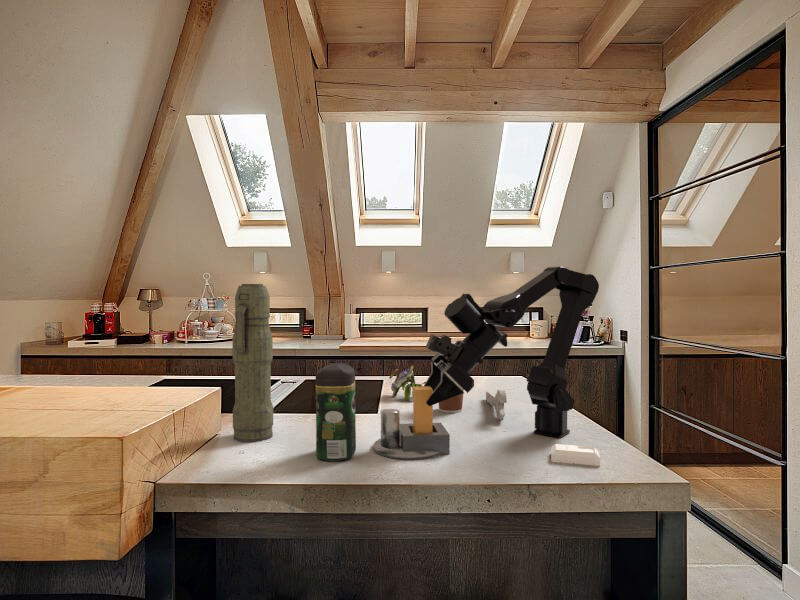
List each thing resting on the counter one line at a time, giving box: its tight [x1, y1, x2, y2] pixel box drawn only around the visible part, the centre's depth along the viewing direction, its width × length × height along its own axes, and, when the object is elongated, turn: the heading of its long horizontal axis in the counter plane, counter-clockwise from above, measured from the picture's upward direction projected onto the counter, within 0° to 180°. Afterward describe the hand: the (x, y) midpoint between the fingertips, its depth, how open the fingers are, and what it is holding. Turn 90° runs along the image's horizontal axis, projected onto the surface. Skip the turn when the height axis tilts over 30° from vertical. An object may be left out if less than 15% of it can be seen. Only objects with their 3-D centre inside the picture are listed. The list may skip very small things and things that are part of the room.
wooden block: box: [412, 385, 434, 433], centre depth 109 cm, size 4×4×12 cm
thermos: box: [232, 283, 274, 443], centre depth 117 cm, size 9×12×35 cm
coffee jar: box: [314, 362, 357, 462], centre depth 104 cm, size 10×8×19 cm
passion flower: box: [388, 365, 426, 402], centre depth 160 cm, size 11×11×12 cm
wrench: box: [485, 389, 508, 420], centre depth 142 cm, size 8×2×30 cm
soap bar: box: [550, 443, 601, 467], centre depth 102 cm, size 5×9×3 cm, turn 74°
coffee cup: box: [438, 389, 465, 414], centre depth 143 cm, size 9×9×12 cm
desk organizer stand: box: [373, 408, 451, 461], centre depth 109 cm, size 15×15×8 cm
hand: (424, 399), depth 109 cm, fingers open, 9 cm apart
